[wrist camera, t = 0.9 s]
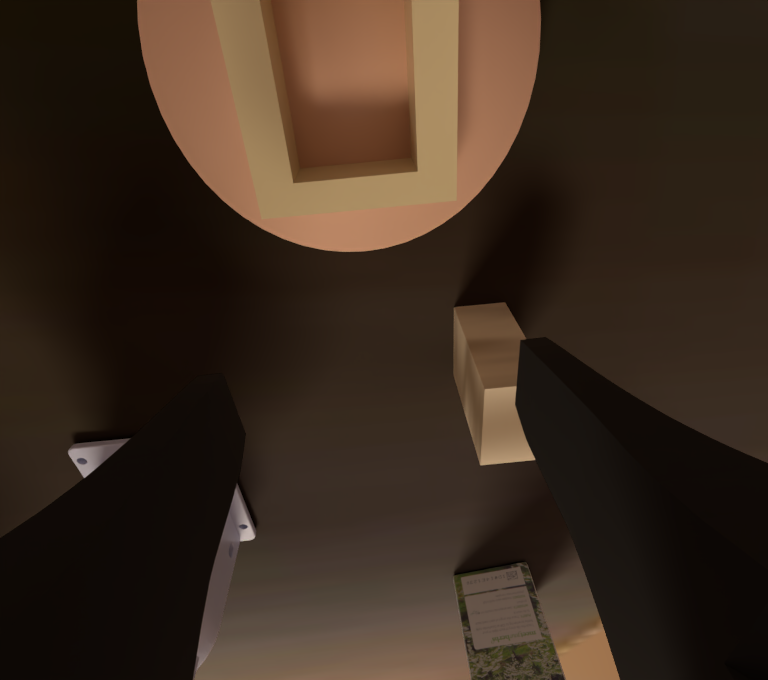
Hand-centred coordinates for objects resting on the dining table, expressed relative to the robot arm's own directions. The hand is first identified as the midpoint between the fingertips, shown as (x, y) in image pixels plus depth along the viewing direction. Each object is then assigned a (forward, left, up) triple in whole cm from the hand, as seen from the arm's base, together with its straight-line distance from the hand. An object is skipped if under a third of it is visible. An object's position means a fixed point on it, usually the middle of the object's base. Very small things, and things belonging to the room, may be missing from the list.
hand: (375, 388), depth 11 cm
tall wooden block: (-5, -5, -10) cm, 12 cm away
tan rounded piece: (+7, 0, -10) cm, 12 cm away
